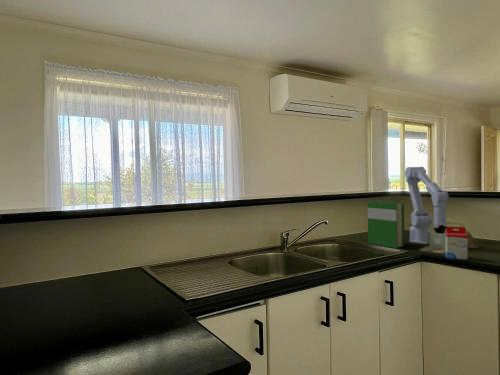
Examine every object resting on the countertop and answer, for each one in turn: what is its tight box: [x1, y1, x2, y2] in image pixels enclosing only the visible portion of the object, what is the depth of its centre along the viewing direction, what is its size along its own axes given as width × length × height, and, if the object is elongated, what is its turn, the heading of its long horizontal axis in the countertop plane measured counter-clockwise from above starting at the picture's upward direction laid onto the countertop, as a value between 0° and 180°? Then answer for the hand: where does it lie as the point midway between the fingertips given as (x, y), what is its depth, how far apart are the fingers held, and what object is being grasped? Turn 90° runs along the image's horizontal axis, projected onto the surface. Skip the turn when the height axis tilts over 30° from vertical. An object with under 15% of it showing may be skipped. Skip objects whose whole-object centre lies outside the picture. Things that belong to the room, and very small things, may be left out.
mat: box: [418, 245, 446, 254], centre depth 185 cm, size 13×12×1 cm
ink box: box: [445, 226, 468, 260], centre depth 167 cm, size 8×5×15 cm, turn 68°
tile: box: [428, 231, 446, 250], centre depth 187 cm, size 8×2×8 cm, turn 46°
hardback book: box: [367, 201, 405, 249], centre depth 198 cm, size 18×7×24 cm, turn 37°
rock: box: [465, 229, 479, 249], centre depth 189 cm, size 11×9×10 cm
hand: (440, 239), depth 190 cm, fingers closed
